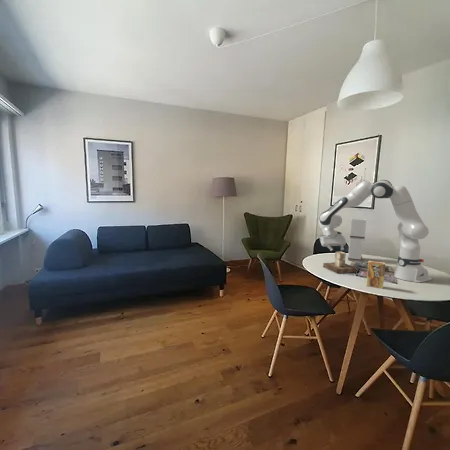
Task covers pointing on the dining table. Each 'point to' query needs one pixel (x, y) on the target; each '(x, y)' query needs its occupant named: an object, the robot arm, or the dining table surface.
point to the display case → (356, 239)
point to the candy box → (375, 274)
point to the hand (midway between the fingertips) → (337, 250)
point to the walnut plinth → (339, 268)
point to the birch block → (340, 259)
